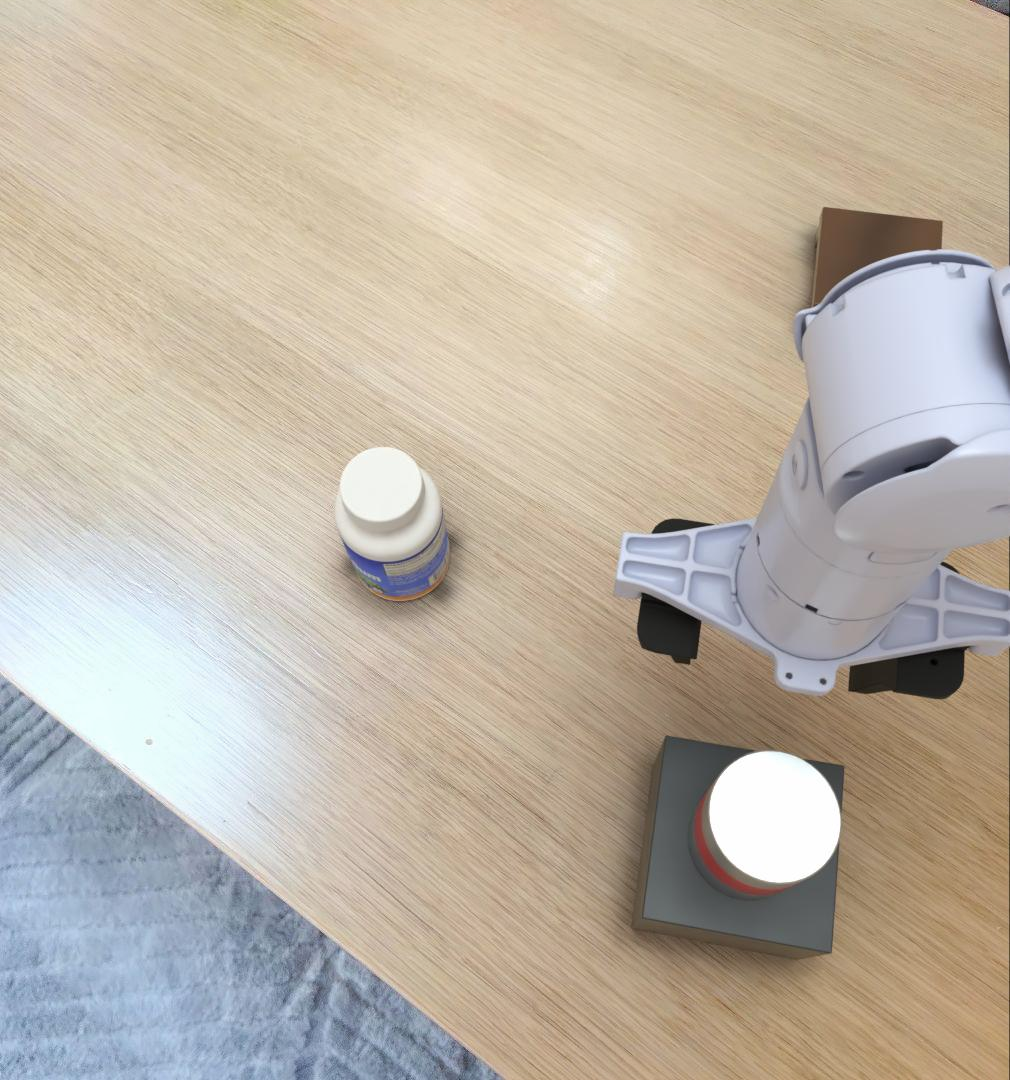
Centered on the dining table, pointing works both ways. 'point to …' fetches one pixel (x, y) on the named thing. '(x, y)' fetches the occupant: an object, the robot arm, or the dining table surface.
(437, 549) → the pill bottle
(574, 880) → the dining table surface
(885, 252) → the stool
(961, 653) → the robot arm
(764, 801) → the can
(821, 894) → the square coaster
